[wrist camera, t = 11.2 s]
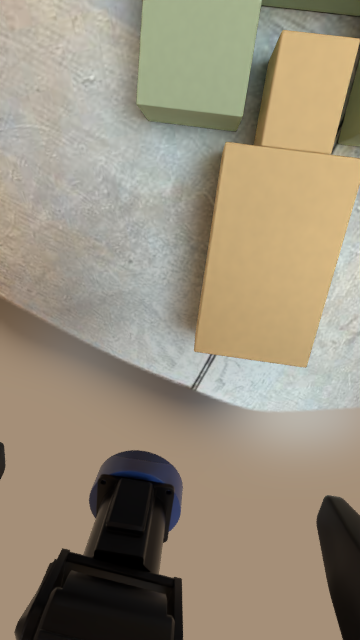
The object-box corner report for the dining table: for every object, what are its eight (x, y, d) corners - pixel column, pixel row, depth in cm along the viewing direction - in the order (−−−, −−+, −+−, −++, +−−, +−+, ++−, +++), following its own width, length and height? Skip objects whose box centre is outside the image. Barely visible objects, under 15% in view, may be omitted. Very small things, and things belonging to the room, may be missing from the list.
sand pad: (292, 344, 20) (306, 368, 17) (195, 331, 20) (193, 352, 17) (365, 71, 15) (402, 41, 12) (236, 57, 15) (243, 24, 12)
